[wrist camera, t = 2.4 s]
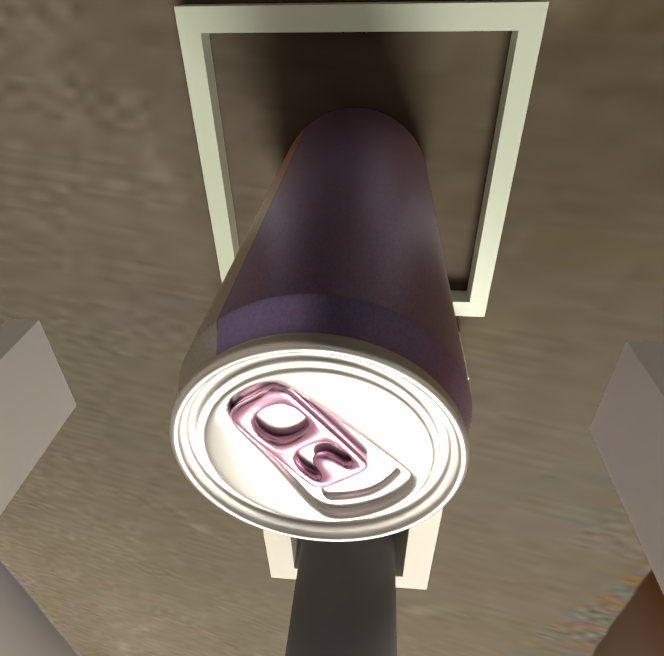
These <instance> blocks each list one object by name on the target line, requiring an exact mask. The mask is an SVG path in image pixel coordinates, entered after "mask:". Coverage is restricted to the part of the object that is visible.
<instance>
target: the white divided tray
mask: <svg viewBox="0 0 664 656" xmlns="http://www.w3.org/2000/svg"><path fill="white" fill-rule="evenodd" d="M459 337H460V342H461V347H462V352H463V357H464V362H465V367H466V372H467V378H468V380H469V375H468V370H467V365H466V360H465V355H464V350H463V345H462V340H461V335H460V332H459ZM442 509H443V508H442ZM442 509H441V510H439V511H438V512H437V513H436V514H434V515H433V516H431V517H430V518H428V519H427V520H425V521H423V522H421V523H419V524H418V525H415V526H413V527H411V528H409V529H406V530H403V531H401V532H398V533H395V577H396V587H400V588H413V589H427V584H428V579H429V574H430V569H431V564H432V559H433V554H434V549H435V544H436V539H437V534H438V529H439V524H440V519H441V514H442ZM263 532H264V538H265V543H266V549H267V555H268V560H269V566H270V572H271V577H274V578H286V579H296V577H297V570H298V563H299V556H300V549H301V542H302V539H299V538H293V537H288V536H284V535H280V534H276V533H273V532H270V531H266V530H264V529H263Z"/></svg>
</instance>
